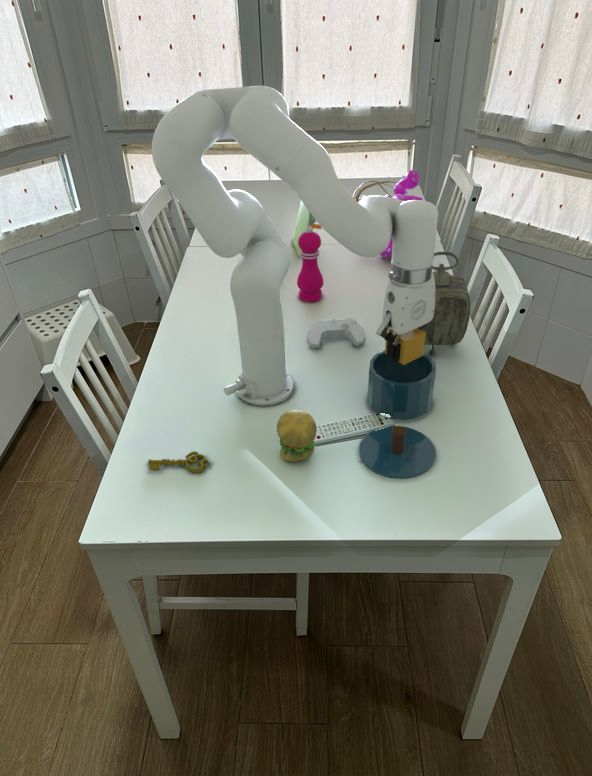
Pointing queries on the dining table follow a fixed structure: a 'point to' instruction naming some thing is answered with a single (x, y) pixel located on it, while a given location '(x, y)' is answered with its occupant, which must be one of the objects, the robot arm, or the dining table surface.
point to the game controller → (335, 331)
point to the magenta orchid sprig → (400, 189)
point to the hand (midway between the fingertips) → (404, 352)
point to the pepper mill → (309, 267)
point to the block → (410, 345)
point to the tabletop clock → (448, 308)
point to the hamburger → (296, 435)
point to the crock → (401, 386)
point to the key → (181, 462)
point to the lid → (397, 452)
